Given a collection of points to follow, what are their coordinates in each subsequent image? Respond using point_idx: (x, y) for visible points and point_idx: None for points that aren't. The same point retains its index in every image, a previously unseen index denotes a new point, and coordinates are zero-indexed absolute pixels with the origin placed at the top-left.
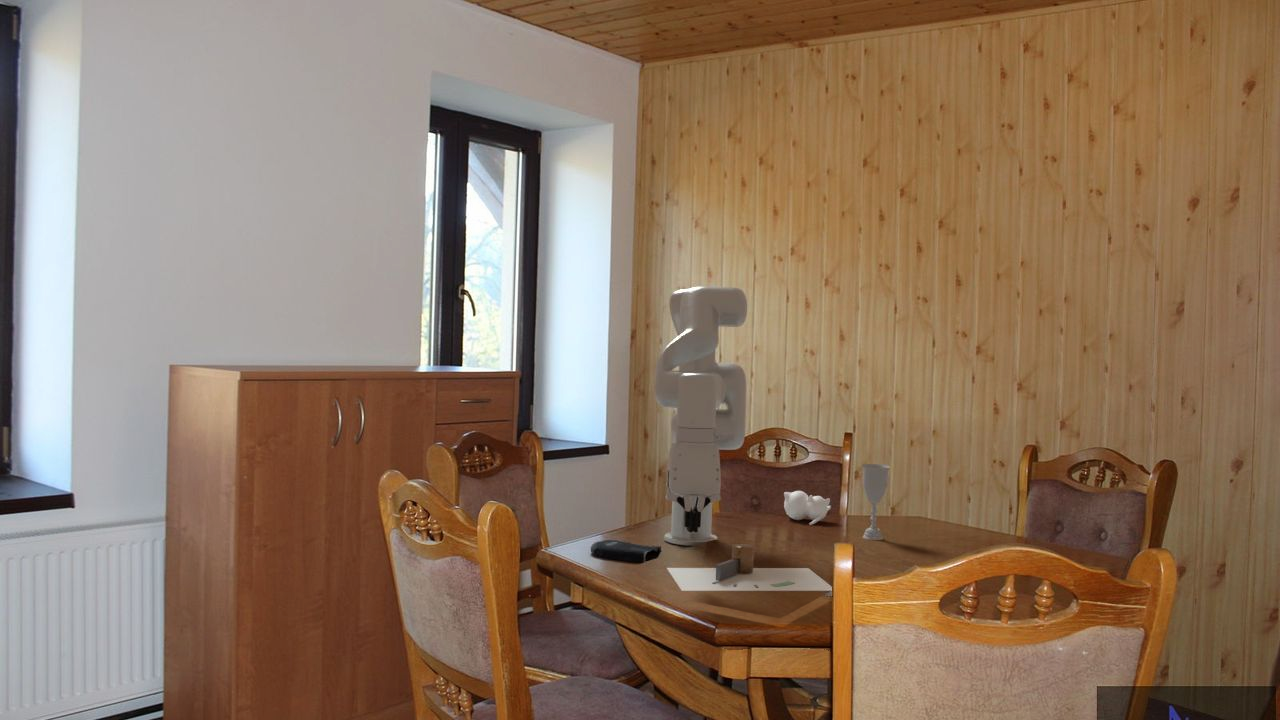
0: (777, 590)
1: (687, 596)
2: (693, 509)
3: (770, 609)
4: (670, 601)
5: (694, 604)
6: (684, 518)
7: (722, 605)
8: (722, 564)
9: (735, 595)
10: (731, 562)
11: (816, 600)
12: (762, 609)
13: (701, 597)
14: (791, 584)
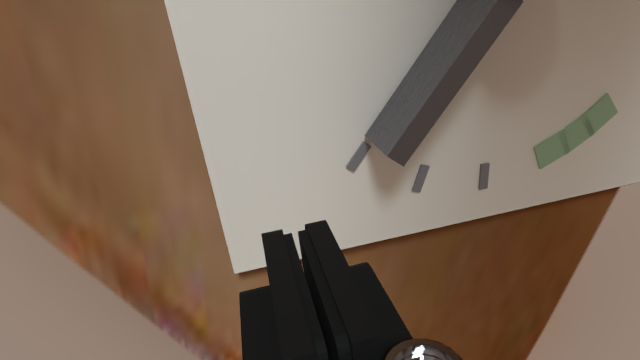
0: (528, 205)
1: None
2: (360, 348)
3: (459, 307)
4: (200, 308)
5: None
6: (243, 339)
7: None
8: (415, 144)
9: None
10: (466, 75)
11: (597, 208)
12: (440, 311)
13: None
14: (599, 126)
